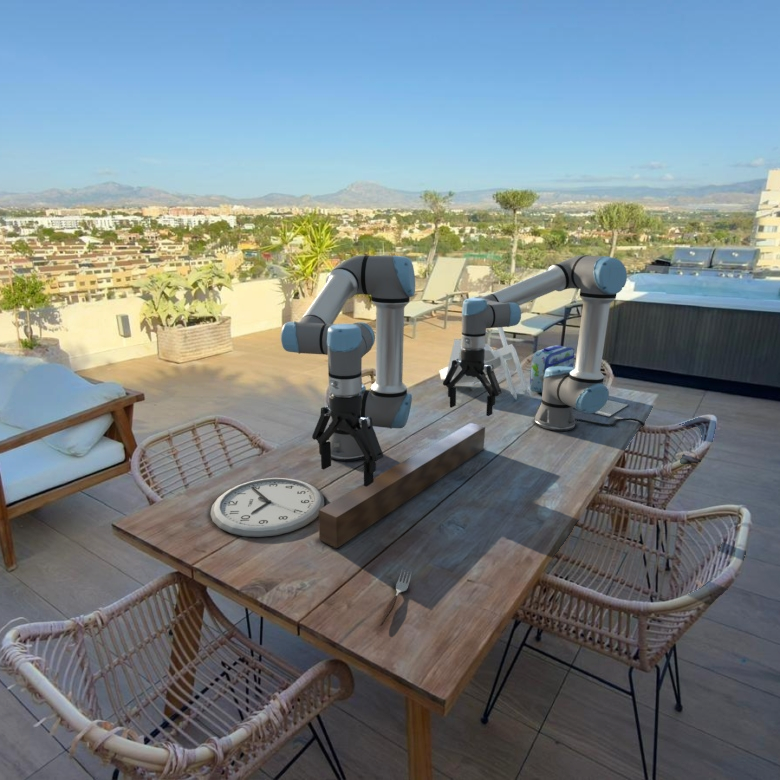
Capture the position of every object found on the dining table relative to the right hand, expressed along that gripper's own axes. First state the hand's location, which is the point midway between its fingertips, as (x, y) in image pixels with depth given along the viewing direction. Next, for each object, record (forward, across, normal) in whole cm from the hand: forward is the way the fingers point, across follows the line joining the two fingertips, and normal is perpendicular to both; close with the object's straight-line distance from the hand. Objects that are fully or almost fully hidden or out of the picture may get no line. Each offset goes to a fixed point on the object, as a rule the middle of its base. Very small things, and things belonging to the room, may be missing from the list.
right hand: (470, 410), depth 173 cm
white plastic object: (+16, -29, +64) cm, 72 cm away
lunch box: (+18, -5, +88) cm, 90 cm away
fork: (+14, +24, -75) cm, 80 cm away
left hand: (-2, -1, -61) cm, 61 cm away
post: (+14, -1, -31) cm, 35 cm away
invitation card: (+18, +21, +79) cm, 84 cm away
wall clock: (+13, -26, -66) cm, 72 cm away
